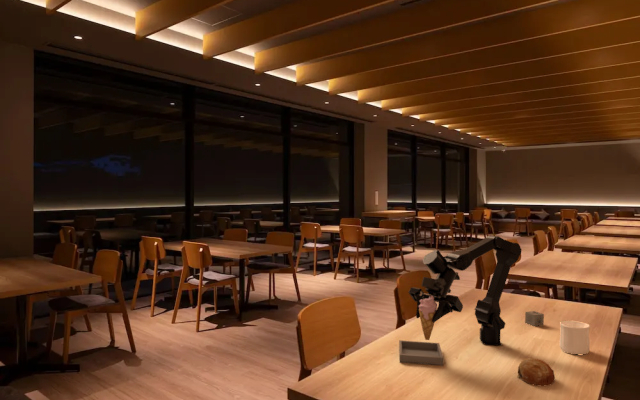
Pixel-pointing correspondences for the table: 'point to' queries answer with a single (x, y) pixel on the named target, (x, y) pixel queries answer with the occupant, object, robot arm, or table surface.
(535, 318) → the dice cube
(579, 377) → the table surface
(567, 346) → the cup
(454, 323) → the table surface
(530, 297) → the table surface
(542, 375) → the bread roll
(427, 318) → the ice cream cone
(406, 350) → the tray
